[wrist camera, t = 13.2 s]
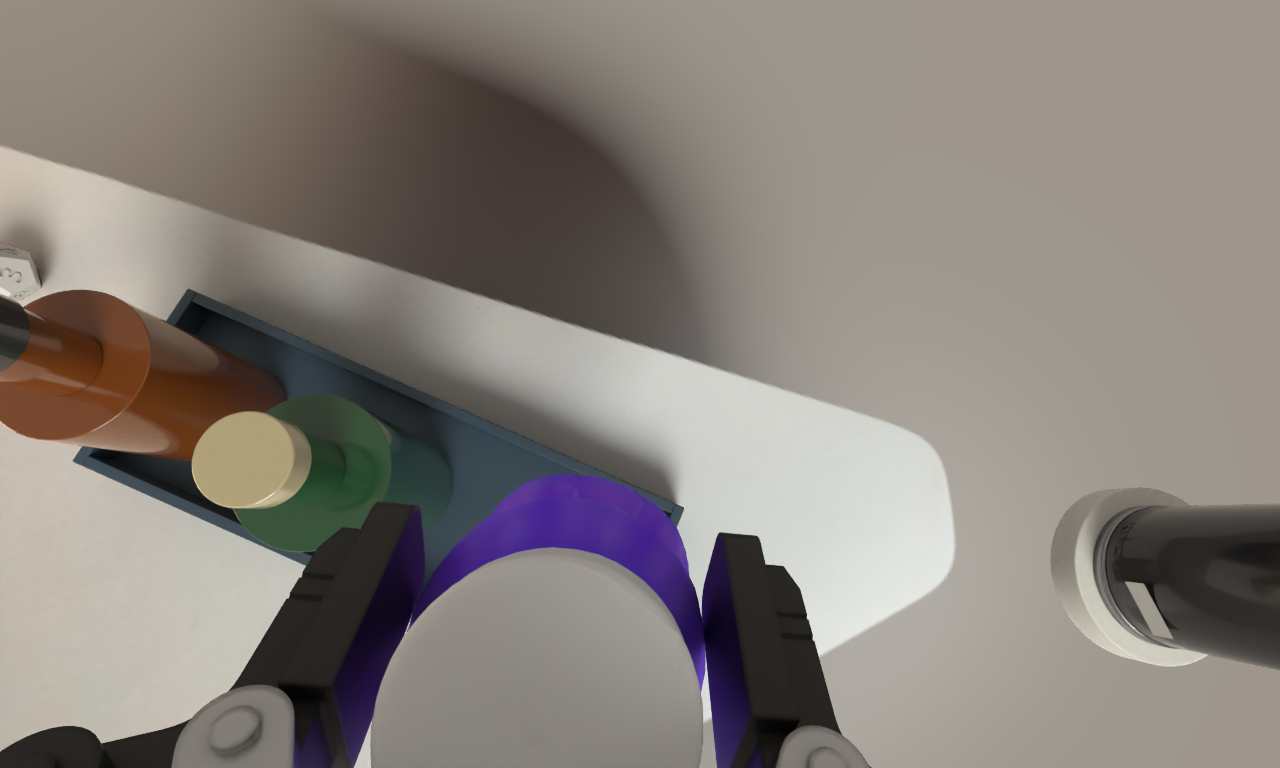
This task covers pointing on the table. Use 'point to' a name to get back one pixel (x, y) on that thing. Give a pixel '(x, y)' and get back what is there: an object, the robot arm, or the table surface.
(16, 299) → the game die
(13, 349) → the amber bottle
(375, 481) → the green bottle
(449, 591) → the bottle
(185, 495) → the tray
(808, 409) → the table surface
